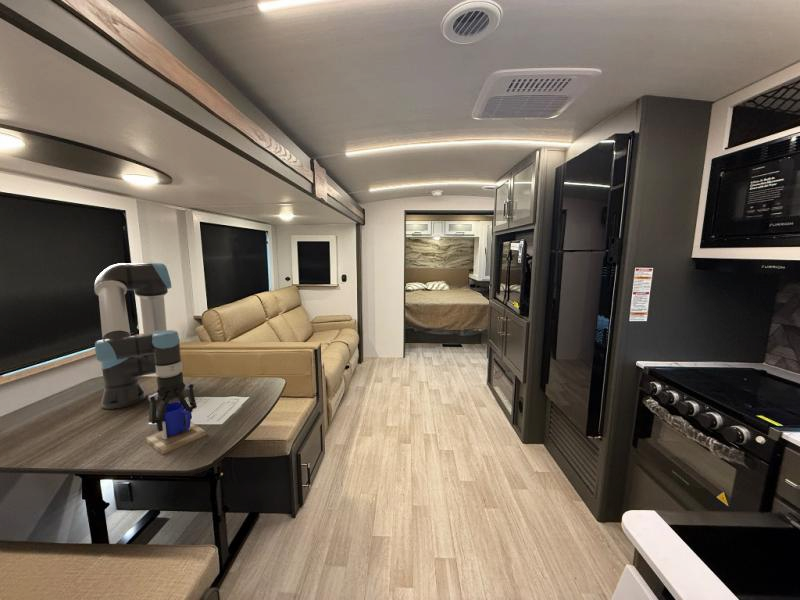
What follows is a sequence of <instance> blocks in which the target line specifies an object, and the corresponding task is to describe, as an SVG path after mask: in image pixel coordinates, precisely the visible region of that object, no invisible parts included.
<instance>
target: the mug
mask: <svg viewBox="0 0 800 600" xmlns="http://www.w3.org/2000/svg"><path fill="white" fill-rule="evenodd" d="M158 410H159V408H157V410H156V414H158ZM185 414H187V427H186V428H185ZM191 414H192V412H190V411H187V410H185V407H184V405H183V406H182V404H181V402H180V401H175V402H170V403H168V404H167V408H166V411H165V414H164V418H163V421H165V425H166V434H167V436H173V435H176V434H178V433H180V432H182V431H185V430H187V429H189V427H190V424H191V422H192V419H191Z"/></svg>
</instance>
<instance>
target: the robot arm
mask: <svg viewBox="0 0 800 600" xmlns="http://www.w3.org/2000/svg"><path fill="white" fill-rule="evenodd" d="M93 287H94V288H93V289H94V294H95V295H96V296H98V301H99V303H98V304H99V313H100V315H99V316H100V325H101V326H100V327H101V335H102V336H101V337H102V339H99V340H96V341H95V343H94V349H95V350H94V351H95V356H96V360H97V361H98V362H99V363H101V370H102V378H103V385H104V391H103V395H102V398H101V401H100V402H101V403H100V404H101V408H102V407H103V408H102V409H105V410H113V409H114V410H115V408H116V409H122V408H125V407H129V405H130V406H132V405H135V404H137V403H140V402H141V401H143V400H144V399H145V398H146V391H145V389H144V388H143V386H142V385H141V383H140V382H139V377H144V376H148V375H154V374H156V376H157V377H156V383H157V390H156V392H155V393H153V394H149V395H147V399H148V401H149V413H148V414H149V415H148V416H149V417H148V421H149V422H150V423H151V424H152V425H155V424H156V429H157V431H158V432H160V431H161V437H162V438H163V439H164V440H165V439H167V434H166V425H165V421H163V418H164V414H165V411H166V408H167V404H169V402H170V401H172V400H174V399H178V402H181V404H182V406H183V405H184V407H185V410H187V411H190V412H191V420H192V419H193V416H192V413H193V411H194V409H196V408H197V402H196V398H195V394H194V384H193V383H191V382H188V383H185V382H184V375H183V364H182V358H181V357H182V356H181V345H180V336H179V333H178V331H176V330H168V329H167V320H166V319H167V317H166V305H165V296H166V295H167V294H168V293H169V292H168V289H172V282H171V277H170V275H169V270H168V267H167V265H165V264H164V263H162V262H160V263H159V262H133V263H132V262H131V263H130V262H129V263H125V262H122V263H121V262H120V263H116V264H112V265H109V266H108V267H106V268H105V269H103V271H101V272H100V273H99V275H98V276H97V277H96V278H95V281H94V285H93ZM128 291H129V292H130V291H134V294H135V295H136V296H137V297H139V301H140V310H141V311H140V313H141V320H142V329H143V334H139V335H138V334H137V335H132V334H131V329H130V323H129V317H128V316H129V315H128V309H127V303H126V296H125V295H126V294H127V292H128ZM184 390H186V394H187V399H188V401H187V400H186V398H185V395H184V394H183V391H184ZM158 397H161V398H160V404H159V407H158V405H157V404H158V403H157V400H158ZM188 402H189V403H188ZM157 407H158V408H157ZM158 409H159V410H158ZM157 410H158V413H157ZM186 427H187V414H185V428H186ZM189 429H190V427H189ZM189 429H188V430H189Z"/></svg>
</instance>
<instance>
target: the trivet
mask: <svg viewBox="0 0 800 600" xmlns="http://www.w3.org/2000/svg"><path fill="white" fill-rule="evenodd" d="M206 435H207V431H206V430H205V429H203V428H201V427H200V426H198V425H197V424H195V423H193V422H192V421H191V424H190V429H189V430H188V429H187V430H185V431H182V432H180V433H178V434H176V435H173V436H167V439H165V440H164V439H163V438H162V437H161V431H160V432H159V431H158V432H155V433H153V434H151V435H149V436H146V437H145V442H147V443H148V444H149V445H150V446H151V447H153V449H155V450H156V451H158V453H160V454H161V455H165V454H168V453H169V452H171V451H174V450H176V449H178V448H180V447H182V446H185V445H187V444H190V443H191V442H193V441H196V440H198V439H200V438H202V437H205V436H206Z"/></svg>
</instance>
